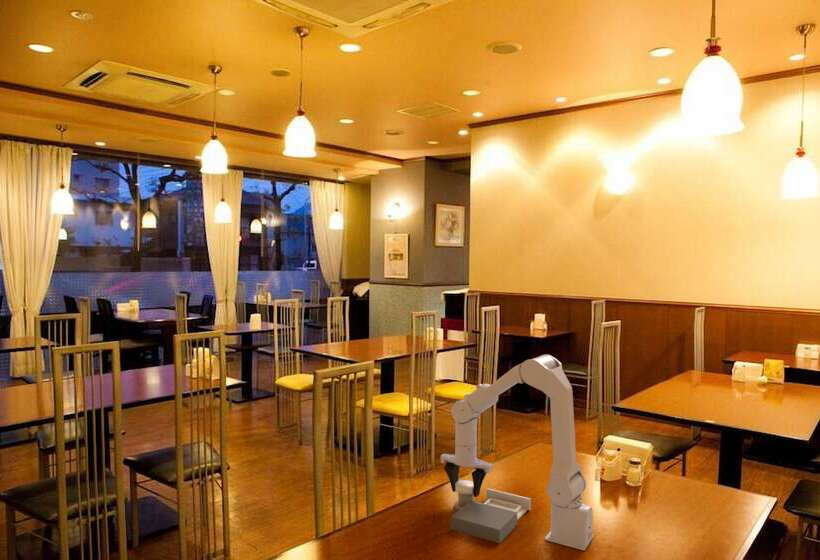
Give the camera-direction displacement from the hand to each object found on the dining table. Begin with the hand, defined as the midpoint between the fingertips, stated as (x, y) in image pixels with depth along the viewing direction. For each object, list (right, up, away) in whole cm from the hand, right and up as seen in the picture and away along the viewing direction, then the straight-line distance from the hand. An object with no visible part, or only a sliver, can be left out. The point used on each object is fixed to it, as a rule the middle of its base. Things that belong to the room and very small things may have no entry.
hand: (465, 493), depth 156 cm
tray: (+8, -4, -4) cm, 10 cm away
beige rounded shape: (0, +1, 0) cm, 1 cm away
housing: (+4, -4, -12) cm, 13 cm away
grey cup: (0, -4, 0) cm, 4 cm away
